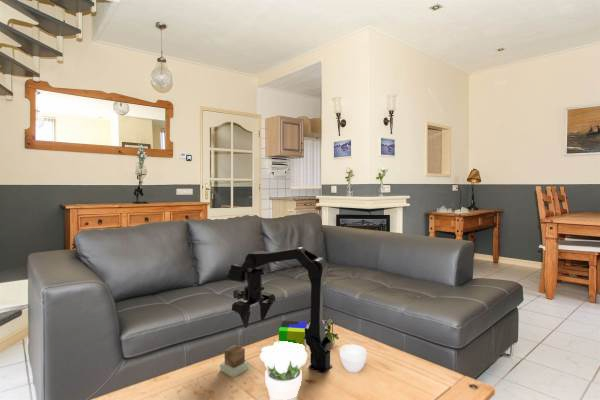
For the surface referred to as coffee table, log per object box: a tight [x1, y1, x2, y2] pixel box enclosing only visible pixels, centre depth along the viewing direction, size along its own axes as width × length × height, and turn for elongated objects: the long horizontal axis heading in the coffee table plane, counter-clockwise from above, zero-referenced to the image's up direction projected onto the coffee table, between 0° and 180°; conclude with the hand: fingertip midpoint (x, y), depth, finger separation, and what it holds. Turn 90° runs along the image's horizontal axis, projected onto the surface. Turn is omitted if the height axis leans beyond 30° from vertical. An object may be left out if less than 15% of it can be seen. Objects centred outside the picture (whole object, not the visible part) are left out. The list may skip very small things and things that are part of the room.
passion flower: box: [322, 318, 340, 343], centre depth 155 cm, size 11×11×12 cm
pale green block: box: [219, 360, 249, 378], centre depth 131 cm, size 7×7×2 cm
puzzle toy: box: [278, 320, 308, 348], centre depth 146 cm, size 10×10×10 cm
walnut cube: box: [224, 344, 246, 368], centre depth 130 cm, size 5×5×5 cm
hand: (254, 323), depth 142 cm, fingers open, 9 cm apart
